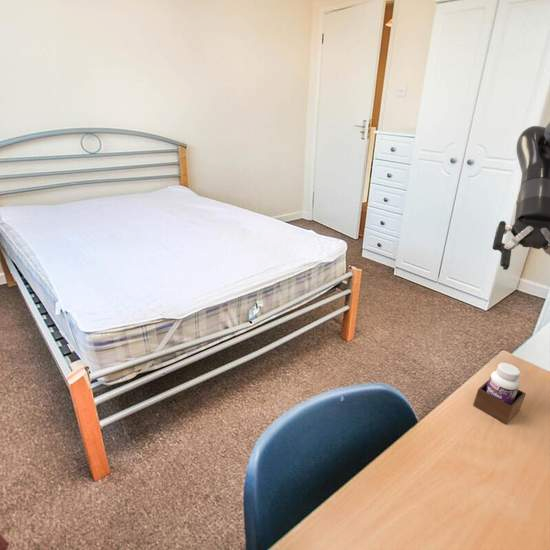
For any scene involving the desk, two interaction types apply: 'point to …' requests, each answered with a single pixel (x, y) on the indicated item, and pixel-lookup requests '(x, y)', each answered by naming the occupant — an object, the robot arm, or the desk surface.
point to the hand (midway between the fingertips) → (529, 272)
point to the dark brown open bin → (498, 404)
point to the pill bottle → (504, 383)
